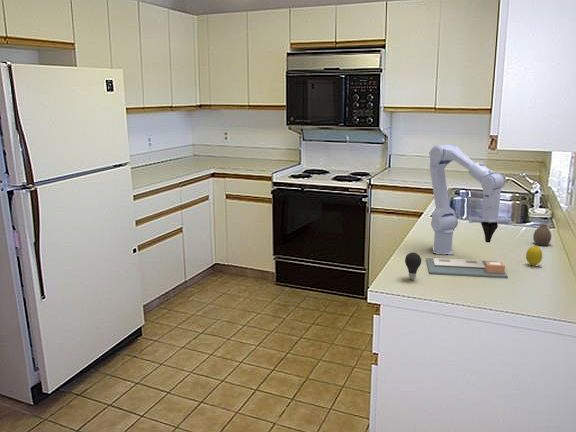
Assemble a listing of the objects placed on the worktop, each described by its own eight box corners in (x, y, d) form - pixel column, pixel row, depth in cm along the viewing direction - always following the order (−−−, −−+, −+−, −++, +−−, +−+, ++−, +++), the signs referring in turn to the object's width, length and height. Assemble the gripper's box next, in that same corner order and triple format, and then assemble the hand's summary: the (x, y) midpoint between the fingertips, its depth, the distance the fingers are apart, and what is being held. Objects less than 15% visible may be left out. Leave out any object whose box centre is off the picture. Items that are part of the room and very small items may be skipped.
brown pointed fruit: (534, 246, 215) (536, 226, 213) (530, 241, 222) (533, 222, 220) (552, 247, 214) (554, 227, 211) (548, 242, 220) (550, 223, 218)
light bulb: (408, 283, 176) (410, 256, 173) (401, 277, 181) (402, 251, 179) (423, 281, 177) (424, 254, 175) (415, 276, 183) (416, 249, 180)
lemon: (527, 262, 196) (529, 242, 194) (542, 265, 192) (545, 245, 190) (523, 266, 192) (525, 246, 190) (538, 269, 188) (541, 248, 186)
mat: (425, 259, 200) (426, 257, 199) (498, 263, 195) (498, 261, 194) (429, 274, 184) (429, 272, 184) (507, 278, 179) (507, 276, 179)
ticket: (432, 259, 197) (433, 257, 197) (481, 261, 194) (481, 260, 194) (434, 266, 190) (435, 264, 190) (485, 269, 187) (485, 267, 186)
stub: (484, 269, 186) (485, 261, 185) (501, 270, 185) (502, 262, 184) (486, 272, 182) (487, 264, 182) (504, 273, 181) (505, 265, 181)
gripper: (472, 208, 183) (469, 243, 186) (514, 209, 181) (510, 245, 184) (468, 203, 190) (466, 238, 193) (509, 205, 187) (506, 240, 191)
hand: (487, 241), depth 189 cm, fingers closed
